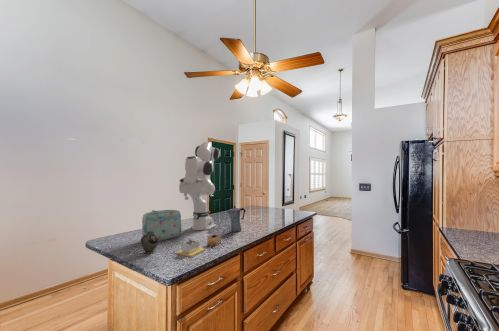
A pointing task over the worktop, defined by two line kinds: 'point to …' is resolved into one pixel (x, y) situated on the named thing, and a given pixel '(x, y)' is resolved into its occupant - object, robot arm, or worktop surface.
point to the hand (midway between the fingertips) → (191, 199)
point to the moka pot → (235, 218)
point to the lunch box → (162, 224)
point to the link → (190, 246)
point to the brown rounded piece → (214, 240)
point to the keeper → (192, 252)
